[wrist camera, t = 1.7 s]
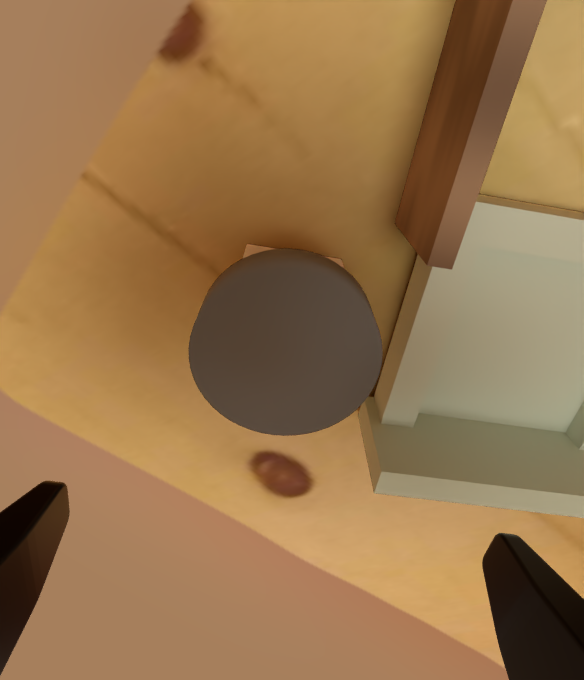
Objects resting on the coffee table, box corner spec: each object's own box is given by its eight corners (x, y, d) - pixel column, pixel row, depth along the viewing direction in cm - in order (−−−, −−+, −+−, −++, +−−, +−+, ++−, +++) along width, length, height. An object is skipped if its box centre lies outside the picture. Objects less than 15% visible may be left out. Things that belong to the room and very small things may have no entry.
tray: (425, 184, 17) (471, 216, 13) (712, 235, 18) (844, 281, 14) (357, 415, 23) (373, 493, 18) (583, 445, 24) (649, 525, 19)
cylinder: (393, 264, 16) (406, 286, 14) (351, 412, 19) (357, 445, 17) (205, 234, 15) (194, 253, 13) (193, 391, 18) (183, 423, 16)
